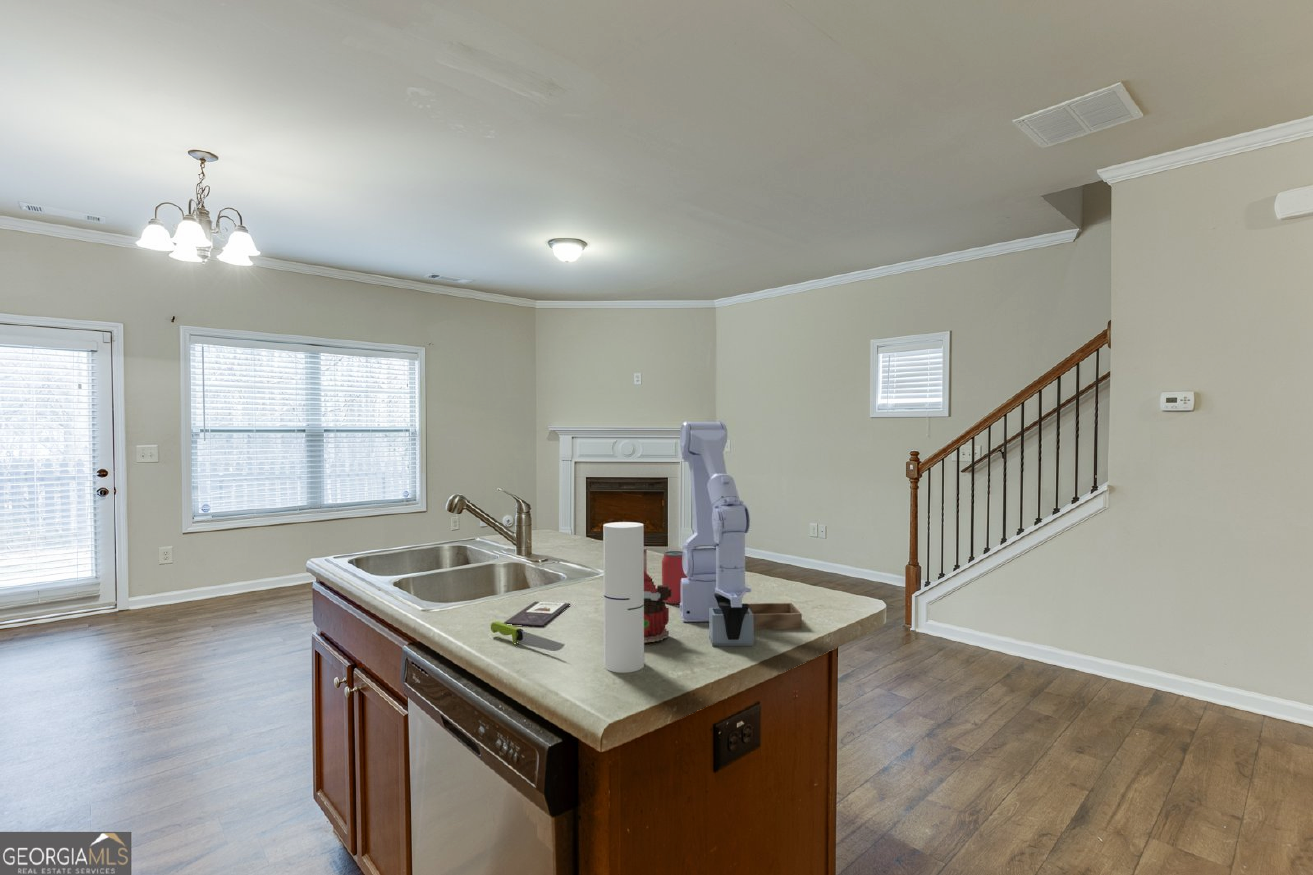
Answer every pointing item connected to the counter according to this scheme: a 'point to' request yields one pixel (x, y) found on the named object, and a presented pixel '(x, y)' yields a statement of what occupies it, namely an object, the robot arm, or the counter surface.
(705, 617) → the robot arm
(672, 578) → the beer can
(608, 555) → the cylindrical container
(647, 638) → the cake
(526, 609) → the chocolate bar
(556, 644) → the kitchen knife
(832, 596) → the counter surface
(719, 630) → the grey crate
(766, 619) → the walnut crate
